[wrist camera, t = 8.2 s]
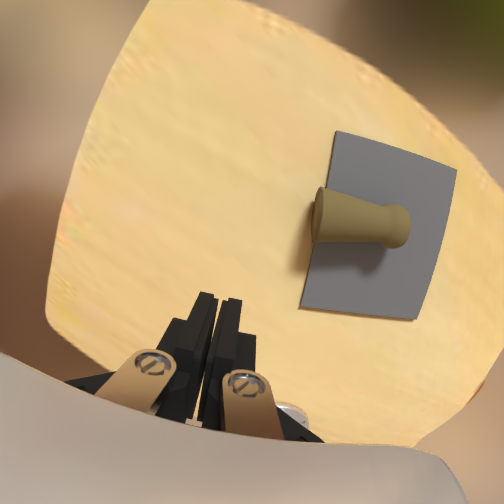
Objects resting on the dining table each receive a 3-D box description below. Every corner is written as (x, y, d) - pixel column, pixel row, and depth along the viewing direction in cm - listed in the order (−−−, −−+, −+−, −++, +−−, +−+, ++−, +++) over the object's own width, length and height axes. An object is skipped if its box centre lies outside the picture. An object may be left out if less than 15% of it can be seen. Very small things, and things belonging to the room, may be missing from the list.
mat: (414, 317, 38) (416, 319, 38) (300, 304, 38) (300, 306, 37) (454, 169, 32) (457, 169, 31) (335, 131, 32) (336, 130, 31)
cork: (309, 239, 35) (391, 250, 35) (318, 244, 29) (413, 257, 29) (315, 188, 34) (397, 203, 34) (326, 183, 28) (420, 202, 28)
